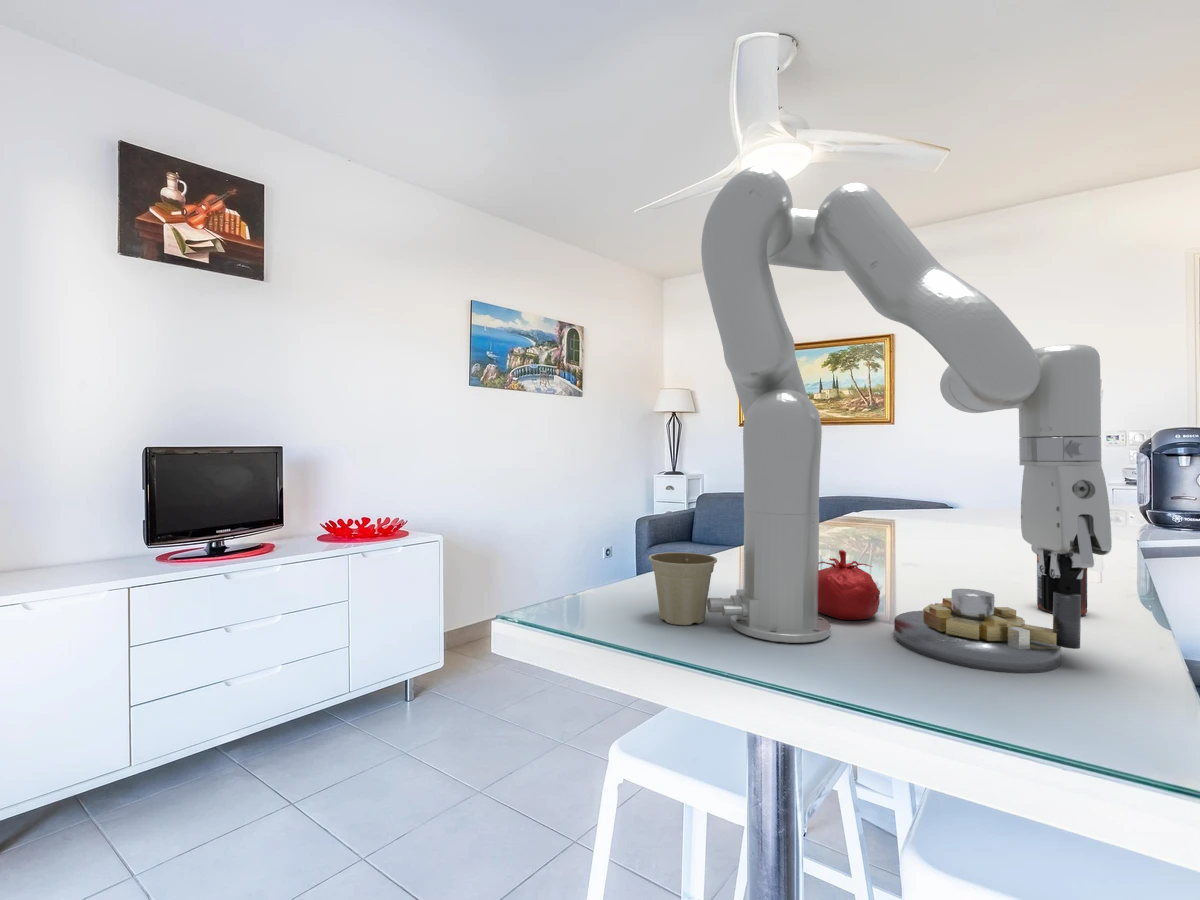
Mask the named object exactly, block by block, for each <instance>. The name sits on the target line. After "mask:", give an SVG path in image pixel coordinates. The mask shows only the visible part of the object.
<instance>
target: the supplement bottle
mask: <svg viewBox="0 0 1200 900" xmlns="http://www.w3.org/2000/svg"><path fill="white" fill-rule="evenodd" d="M1071 550H1073V548H1071ZM1041 575H1046V574H1041V573H1040V569H1039V559H1038V555H1036V605H1037V607H1038V608H1039V610H1041V611H1044V612H1045V613H1046V612H1047V613H1049V614H1053V612H1050V611H1048V610H1046V609H1044V608H1043V607H1042V583H1041ZM1080 595H1081V616H1083V615H1086V614H1087V612H1088V568H1083V578H1082V579H1080Z"/></svg>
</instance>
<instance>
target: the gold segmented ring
mask: <svg viewBox="0 0 1200 900" xmlns="http://www.w3.org/2000/svg"><path fill="white" fill-rule="evenodd" d="M951 608H952V597H942V602H940V603H939V602H937V603H936V602H935V603H934V604H933V603H930V604H928V605H926V606H925V607H923V609H922V611H923V621H924V623H925V624H927V625H929V626H931V627H933V628H935V629H936V630H938V631H946V633H947V634H952V635H957V636H962V637H967V638H972V639H977V640H979V639H980V638H982V639H984V640H986V641H1008V628H1009V627H1020V628H1023V629H1026V630H1029V631H1030V640H1031V641H1037V642H1042V643H1047V644H1052V645H1057V646H1060V647H1061V648H1064V649H1065V648H1066V649H1071V650H1072V649H1073V650H1078V649H1080V648H1081V630H1082V627H1081V621H1082V620H1081V619H1082V618H1081V616H1082V615H1081V595H1079V594H1076V593H1071V592H1063V591H1055V592H1053V613H1052V628H1049V627H1043V626H1042V627H1041V626H1038V625H1032V624H1027V623H1026V620H1025V619H1024V618H1023V617H1021V616H1018V615H1017V609H1014V608H1011V607H1009V606H994V616H984V621H974V620H968V619H963V618H957V617H953V616H951Z"/></svg>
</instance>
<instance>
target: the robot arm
mask: <svg viewBox="0 0 1200 900" xmlns="http://www.w3.org/2000/svg"><path fill="white" fill-rule="evenodd" d="M793 207H794V206H793V196H792V192H791V190H790V187H789V185H788V184H787V182H786V180H785V179H784V177H783V176H781V175H780V174H779V173H778V172H777V171H776V170H774V169H773V168H770V167H767V166H763V165H762V166H759V165H755V166H751V167H748V168H745V169H743V170H741V171H740V172H738V173H737V174H734V176H733V177H731V178H730V179H729V180H728V181H727V182H726V183H725V184H724V186H722V188H721V189H720V191H719V192H718V193H717V195H716V196H715V198H714V200H713V202H712V203H711V205H710V207H709V210H708V212H707V214H706V217H705V220H704V224H703V228H702V237H701V244H700V245H701V246H700V247H701V249H700V250H701V251H700V252H701V253H700V255H701V266H702V270H703V276H704V280H705V285H706V289H707V292H708V295H709V300H710V304H711V309H712V313H713V315H714V320H715V322H716V326H717V330H718V333H719V337H720V341H721V345H722V349H723V350H722V352H723V357H724V362H725V365H726V367H727V369H728V370H729V372H730V374H731V377H732V381H733V384H734V388H735V391H736V395H737V397H738V401H739V404H740V408H741V411H742V414H743V417H744V422H743V429H742V430H743V431H742V434H743V435H742V451H743V452H742V453H743V576H742V577H743V587H742V589H740V588H739V589H735V591H736V592H735V593H736V595H733V594H732V595H730V596H729V598H728V597H727V598H722V597H708V599H707V606H706V609H707V612H708V613H710V614H711V613H712V614H713V613H722V616H725V617H727V616H729V617H730V624H731V626H732V628H733V629H734V630H735V631H737V632H740V633H741V634H744V635H747V636H748V637H753V638H755V639H760V640H764V641H771V642H778V643H792V644H793V643H795V644H798V643H799V644H803V643H814V642H819V641H820V642H821V641H822V640H825V639H826V638H829V636H830V635H831V633H832V632H831V629H832V628H831V624H830V623H831V622H829V621H828V620H827V619H825V618H823V617H822V616H819V612H818V573H819V570H820V569H819V568H820V567H819V565H820V564H819V562H820V559H819V558H820V557H819V556H820V555H819V553H820V551H819V549H820V548H819V547H820V477H821V474H820V473H821V472H820V471H821V469H820V468H821V455H822V437H823V436H822V433H823V431H822V421H821V416H820V414H819V411H818V409H817V407H816V406H815V404H814V403H813V401H812V400H811V399H810V398H809V397H808V394H807V391H806V387H805V383H804V381H803V379H802V375H801V371H800V367H799V364H798V361H797V357H796V354H795V353H796V347H795V346H796V345H795V340H794V337H793V335H792V333H791V330H790V328H789V326H788V324H787V321H786V318H785V316H784V313H783V311H782V306H781V304H780V301H779V298H778V294H777V291H776V288H775V284H774V278H773V274H772V273H771V269H770V265H772V266H779V267H787V268H795V269H802V270H803V269H804V270H812V271H821V272H822V271H823V272H824V271H825V272H827V271H828V272H844V273H845V274H846V275H847V276H848V277H849V279H850V280H851V281H852V282H853V284H854V285H855V286H856V287H857V289H858V290H859V291H860V292H861V294H862V295H863V297H865V299H866V300H867V301H868V303H869V304H870V305H871V307H872V308H873V310H875V311H876V312H877V313H878V314H879V315H881V316H882V317H884V318H885V319H889V320H891V321H893V322H897V323H900V324H902V325H904V326H907V327H909V328H911V329H912V330H914V331H915V332H916V333H918V334H919V335H920V336H922V338H923V339H924V340H926V342H928V343H929V344H930V345H931V346H932V347H933V349H935V350H936V351H937V353H938V354H939V355H940V356H941V357H942V358H943V360H944V361H945V362H946V363H947V364H948V366H947V367H946V369H945V370H944V371H943V374H942V375H941V378H940V384H939V386H940V387H939V389H940V393H941V395H942V398H943V400H944V401H945V402H946V403H947V404H948V405H949V406H951V407H952V408H954V409H955V410H958V411H960V412H964V413H970V414H982V413H989V412H994V411H1003V410H1011V409H1017V410H1018V432H1019V433H1018V435H1019V440H1018V444H1019V445H1018V447H1019V449H1018V451H1019V457H1018V458H1019V466H1024V467H1023V475H1022V481H1021V482H1022V483H1021V497H1020V529H1021V536H1022V538H1023V540H1024V541H1025V542H1026V543H1027V544H1030V545H1031V551H1032V553H1034V554H1035V555H1036V556H1037V555H1038V559H1039V569H1040V573H1041V574H1046V575H1041V583H1042V607H1043V608H1044V609H1046V610H1048V611H1050V612H1053V592H1055V591H1063V592H1071V593H1076V594H1079V595H1080V579H1082V578H1083V568H1087V569H1088V568H1090V569H1091V568H1094V566H1095V561H1094V560H1095V559H1094V555H1099V556H1105V555H1108V554H1109V553H1110V552H1111V551H1112V543H1113V541H1112V540H1113V539H1112V523H1111V513H1110V512H1111V511H1110V501H1109V495H1108V490H1107V489H1108V488H1107V483H1106V478H1105V474H1104V471H1103V466H1102V464H1103V463H1102V414H1101V413H1102V412H1101V410H1102V405H1101V404H1102V403H1101V401H1102V400H1101V393H1102V392H1101V358H1100V357H1101V356H1100V354H1099V351H1098V350H1097V349H1096V348H1095V347H1092V346H1091V345H1086V344H1060V345H1059V344H1058V345H1050V346H1043V347H1039V348H1033V346H1032V344H1030V342H1029V341H1028V340H1027V339H1026V337H1025V336H1024V335H1023V334H1022V333H1021V331H1020V330H1019V329H1018V327H1017V326H1016V325H1015V324H1014V323H1013V322H1012V320H1010V318H1009V317H1008V316H1007V314H1006V313H1004V311H1003V310H1002V309H1001V308H1000V307H999V306H998V305H997V304H996V303H995V302H994V301H993V300H991V299H990V298H989V297H988V296H987V295H986V294H984V293H983V292H982V291H980V290H979V289H977V288H976V287H974V286H973V285H972V284H970V283H968V282H967V281H965V280H964V279H962V278H961V277H960V276H959V275H957V274H955V273H954V272H952V271H949V269H946V268H945V267H944V266H943V265H941V264H940V262H939V261H938V260H937V259H936V257H934V256H933V255H932V254H931V252H930V251H929V250H928V249H927V248H926V246H925V245H924V244H923V243H922V242H921V241H920V239H919V238H918V236H916V235H915V233H914V232H913V231H912V230H911V229H910V227H909V226H908V225H907V224H906V223H905V221H904V220H903V219H902V218H901V217H900V216H899V214H897V212H896V211H895V210H894V209H893V208H892V206H891V205H890V204H889V202H888V201H887V200H886V199H885V198H884V197H883V196H882V195H881V193H880V192H878V191H877V190H876V189H875V188H874V187H872V186H871V185H869V184H866V183H864V182H858V181H857V182H848V183H845V184H843V185H840V186H838V187H836V188H835V189H833V191H831V192H830V193H829V194H828V195H827V196H826V197H825V198H824V199H823V201H822V202H821V204H820V205H819V208H818V210H817V209H815V210H814V209H804V208H793ZM1071 548H1073V550H1071Z"/></svg>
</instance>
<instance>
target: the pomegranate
mask: <svg viewBox="0 0 1200 900" xmlns="http://www.w3.org/2000/svg"><path fill="white" fill-rule="evenodd" d="M838 555H839V558H840V560H838V559H837V558H835V557H833V558H829V561H834V563H832V562H826V561H819V565H820V564H827V565H829V567H825V568H822V569H819V573H818V613H821V614H823V615H826V616H829V617H832V618H836V619H839V620H843V621H844V620H845V621H846V620H849V621H857V620H858V621H859V620H862V619H863V620H867V619H870V618H872V617H873V616H875V615H876V614H877V613H878V611H879V606H880V603H881V602H880V595H881V591H880V590H879V589H880V588H878V585H877V584H876V582H875V580H874V579H873V577H872V575H871V574H870V573H869V572H866V571H865V570H863V569H861V568H859V566H867V567H870V568H873V567H874V566H872V565H869V564H866V563H860V562H858V561H856V560H853V561H852V562H848V563H847V552H846V551H845V550H843V549H840V550H838Z"/></svg>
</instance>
